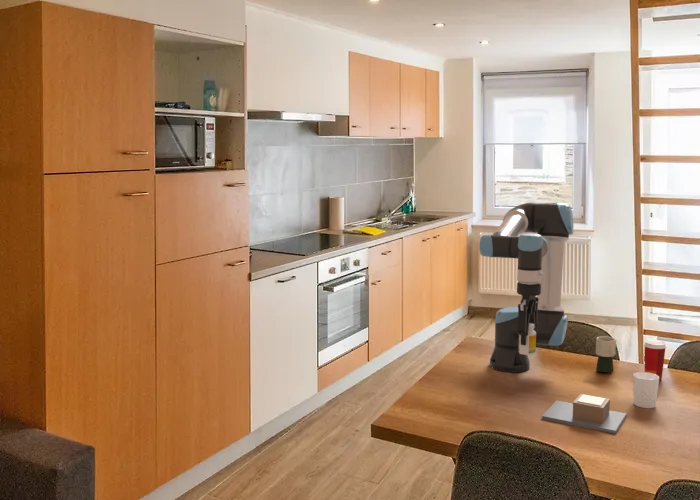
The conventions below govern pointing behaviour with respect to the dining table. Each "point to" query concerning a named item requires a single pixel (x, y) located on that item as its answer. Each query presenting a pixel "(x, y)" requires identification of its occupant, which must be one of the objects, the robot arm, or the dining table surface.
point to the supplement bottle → (531, 339)
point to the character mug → (605, 353)
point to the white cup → (645, 389)
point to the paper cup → (654, 357)
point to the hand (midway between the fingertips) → (527, 351)
